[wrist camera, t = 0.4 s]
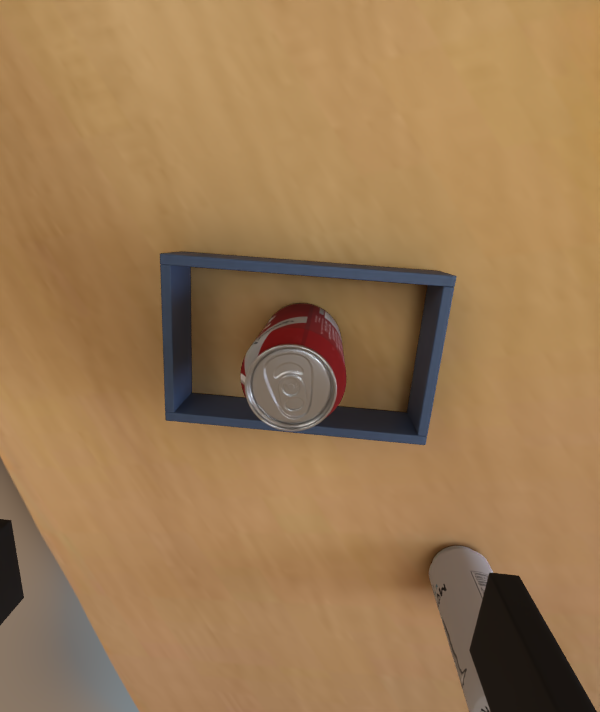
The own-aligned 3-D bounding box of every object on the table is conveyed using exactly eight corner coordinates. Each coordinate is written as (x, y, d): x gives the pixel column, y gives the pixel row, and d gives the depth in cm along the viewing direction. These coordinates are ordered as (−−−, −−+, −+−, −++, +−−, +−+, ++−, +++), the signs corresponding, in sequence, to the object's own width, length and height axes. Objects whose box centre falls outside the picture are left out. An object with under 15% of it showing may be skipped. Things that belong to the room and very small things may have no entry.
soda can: (334, 295, 33) (338, 325, 22) (346, 370, 35) (355, 433, 24) (257, 308, 34) (222, 343, 23) (272, 380, 36) (247, 447, 25)
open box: (181, 251, 33) (159, 253, 29) (439, 270, 32) (456, 275, 28) (184, 399, 37) (165, 420, 33) (414, 420, 36) (425, 445, 32)
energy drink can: (417, 553, 40) (466, 726, 26) (473, 533, 39) (557, 702, 25) (439, 595, 42) (498, 782, 27) (495, 576, 41) (586, 761, 26)
